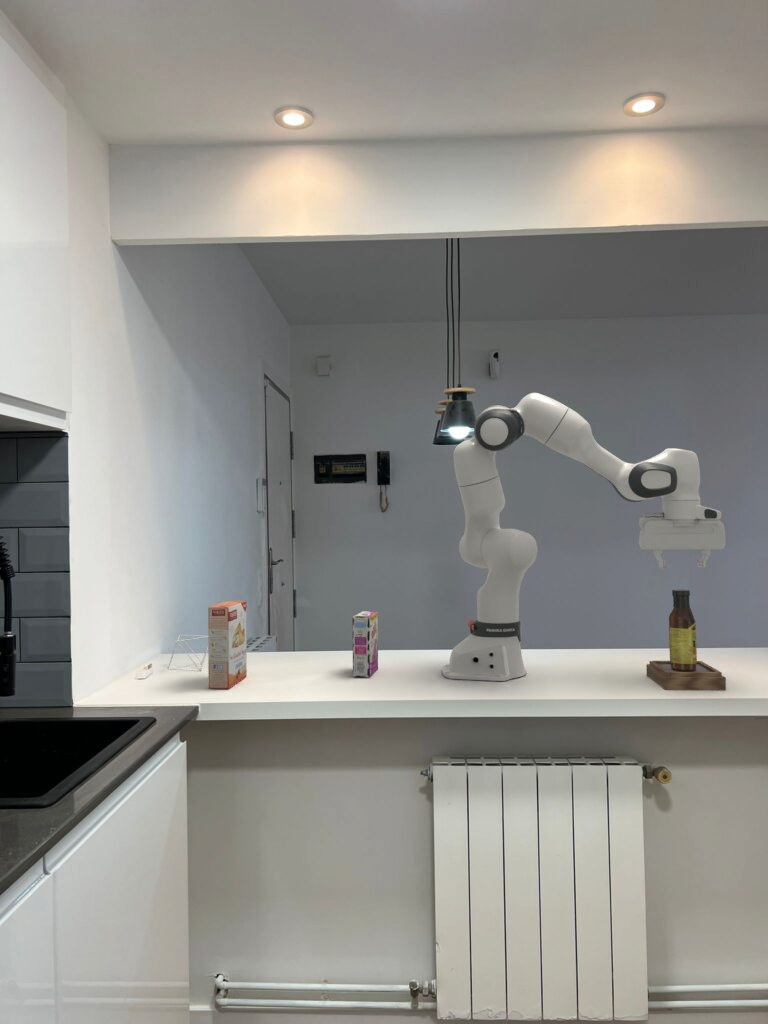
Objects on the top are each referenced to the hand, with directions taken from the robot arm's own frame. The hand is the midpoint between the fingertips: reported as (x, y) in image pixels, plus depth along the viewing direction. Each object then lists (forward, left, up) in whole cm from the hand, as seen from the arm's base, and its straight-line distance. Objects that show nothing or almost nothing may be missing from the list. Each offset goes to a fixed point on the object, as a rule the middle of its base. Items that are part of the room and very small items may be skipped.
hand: (681, 567), depth 172 cm
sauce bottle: (0, 0, -26) cm, 26 cm away
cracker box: (-116, -1, -29) cm, 120 cm away
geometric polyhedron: (-133, +17, -29) cm, 137 cm away
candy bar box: (-81, +10, -29) cm, 87 cm away
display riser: (0, 0, -29) cm, 29 cm away
